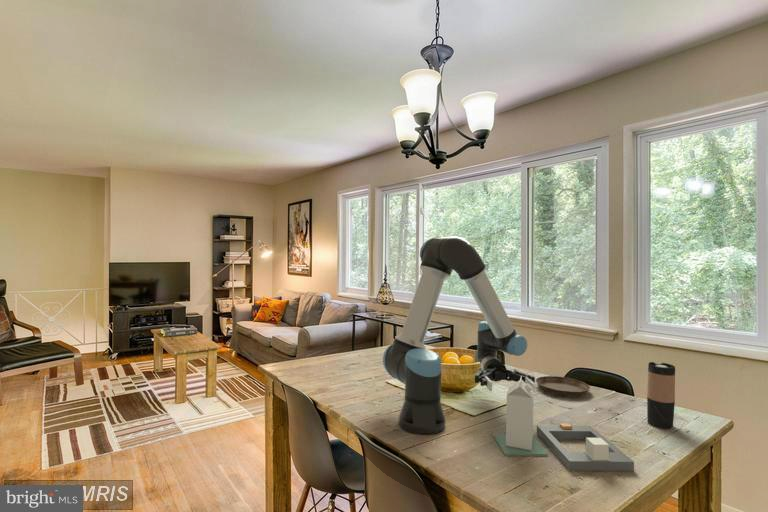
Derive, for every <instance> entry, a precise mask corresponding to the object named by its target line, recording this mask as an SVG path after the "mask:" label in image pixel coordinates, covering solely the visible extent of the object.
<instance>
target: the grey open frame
mask: <svg viewBox="0 0 768 512" xmlns="http://www.w3.org/2000/svg"><path fill="white" fill-rule="evenodd" d="M536 434H537V435H538V437H539V438H541V440H542V441H543V442H544V444H545V445H546V446H547V447H548V448H549V450H550V451H552V453H553V454H554V455H555V456H556V458H558V459H559V461H560V460H561V461H560V462H561V463H562V464H563V465H564V467H565V468H566V469H567V468H568V469H569V470H568V469H567V470H568V471H570V470H579V472H608V471H607V470H610V471H609V472H634V471H635V461H634V460H633V459H631V458H630V457H629V456H628V455H627V454H626V453H624V452H623V451H622V450H621V449H619V448H618V447H617V446H616V445H614V444H613V443H612V442H611V441H610V440H608V439H607V438H606V437H604V436H603V435H602V434H601V433H600V432H598V430H596V429H595V428H594V427H593V426H592V425H571V424H570V423H559V425H558V424H557V425H556V424H555V425H551V424H549V425H548V424H544V425H543V424H541V425H540V424H539V425H538V424H537V425H536ZM559 440H585V451H568V449H566V448H565V447H564V446H563V444H562V443H560V442H559ZM601 470H602V471H601ZM570 472H571V471H570Z"/></svg>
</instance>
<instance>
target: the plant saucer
mask: <svg viewBox="0 0 768 512" xmlns="http://www.w3.org/2000/svg"><path fill="white" fill-rule="evenodd" d="M535 382H536V384H537V386H538V387H539V388H540V389H541V390H542V391H544V392H546V393H548V394H551V395H554V396H558V397H564V398H578V397H582V396H584V395H586V394H587V393H588V392H589V391H590V390H591V386H590V385H589V384H588V383H586V382H584V381H581V380H578V379H575V378H570V377H564V376H556V375H555V376H554V375H548V376H547V375H545V376H539V377H537V378H535Z"/></svg>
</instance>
